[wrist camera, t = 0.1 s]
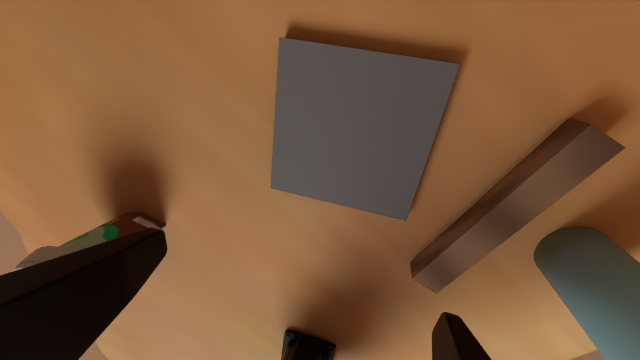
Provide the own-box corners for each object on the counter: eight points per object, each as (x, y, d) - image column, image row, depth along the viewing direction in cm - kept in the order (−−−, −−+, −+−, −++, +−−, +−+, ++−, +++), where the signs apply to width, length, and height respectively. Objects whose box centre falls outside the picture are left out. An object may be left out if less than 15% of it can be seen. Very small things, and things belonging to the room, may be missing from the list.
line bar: (432, 276, 25) (436, 293, 23) (410, 262, 24) (412, 278, 23) (600, 138, 17) (625, 147, 15) (569, 117, 17) (591, 124, 15)
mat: (405, 214, 23) (406, 220, 22) (274, 183, 24) (270, 188, 23) (456, 63, 17) (460, 64, 16) (284, 38, 19) (279, 37, 18)
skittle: (587, 284, 21) (729, 443, 13) (522, 268, 22) (612, 407, 13) (628, 236, 19) (834, 388, 10) (553, 220, 20) (687, 348, 11)
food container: (126, 181, 29) (9, 236, 20) (170, 218, 29) (78, 286, 21) (96, 239, 34) (-4, 302, 25) (135, 269, 35) (50, 339, 26)
